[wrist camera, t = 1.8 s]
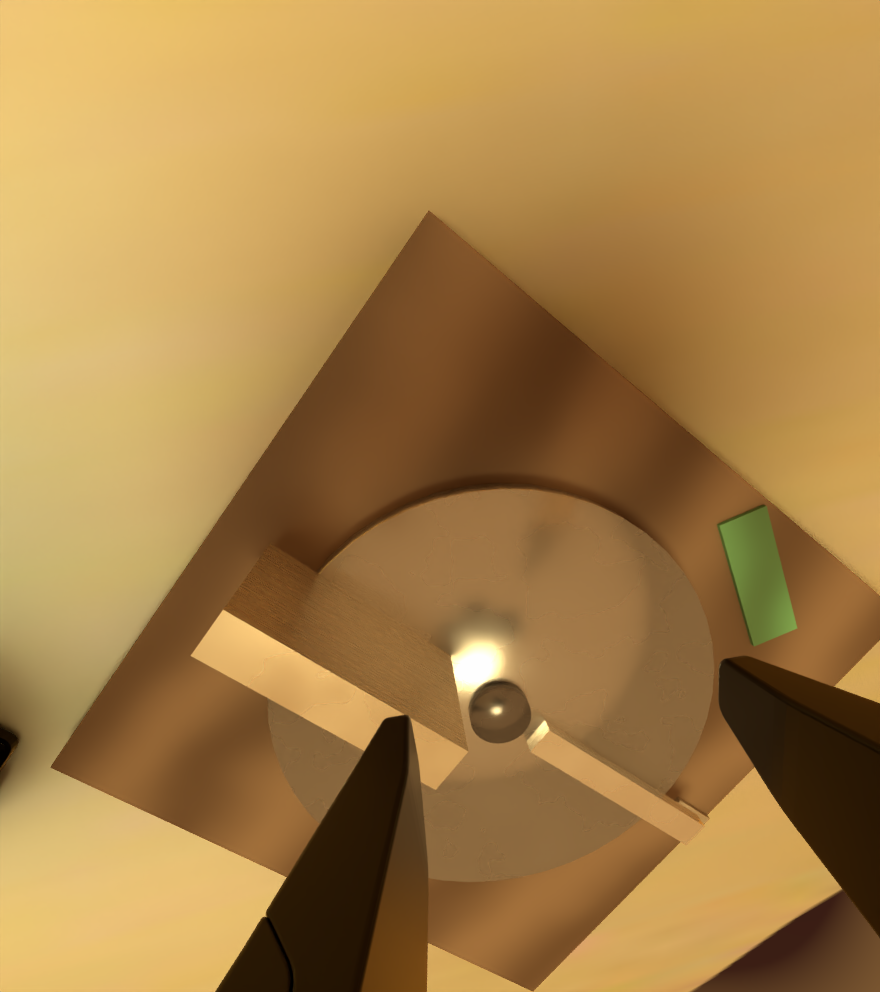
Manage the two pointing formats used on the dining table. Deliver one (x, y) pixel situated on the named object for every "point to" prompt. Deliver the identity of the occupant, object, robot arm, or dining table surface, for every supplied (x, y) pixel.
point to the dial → (485, 671)
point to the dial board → (440, 467)
